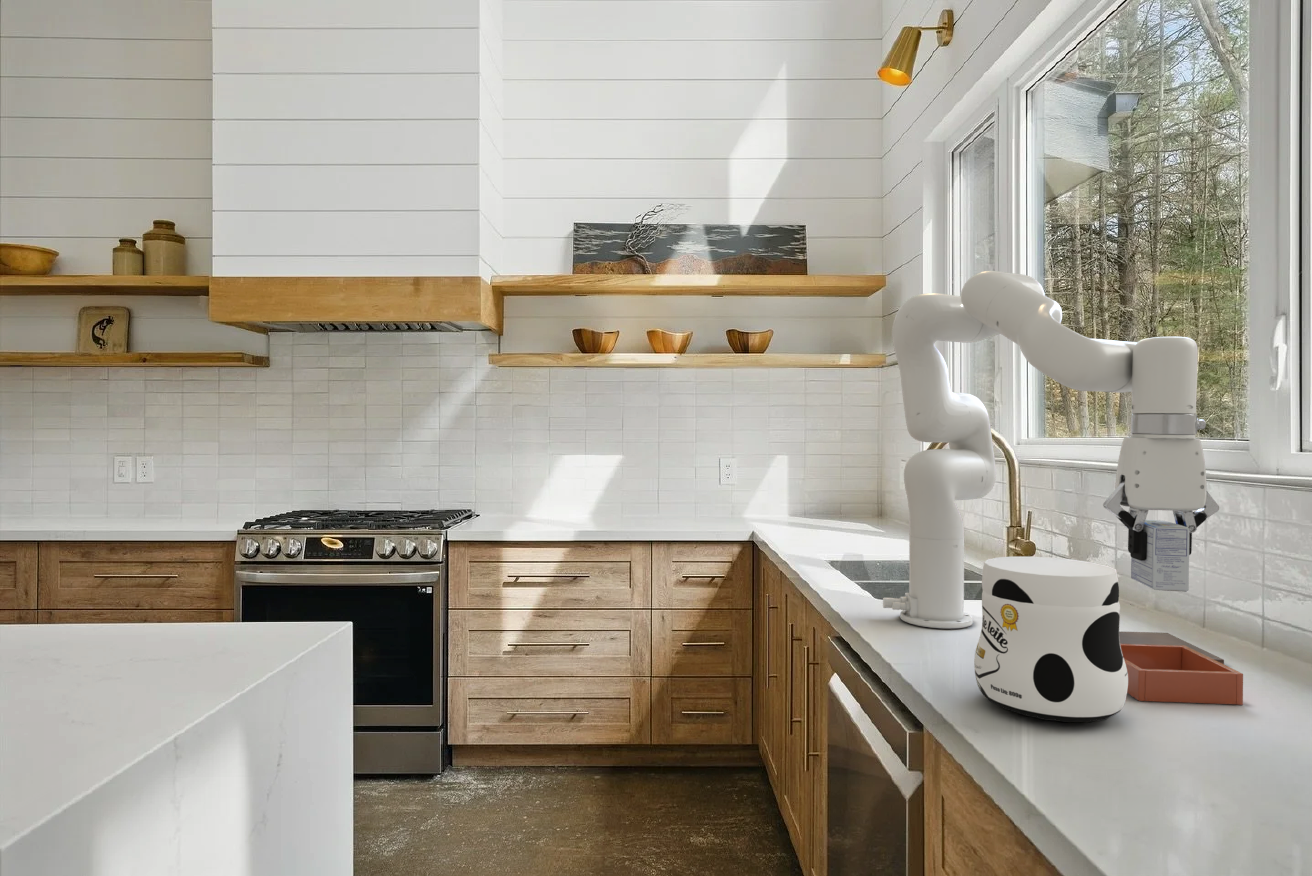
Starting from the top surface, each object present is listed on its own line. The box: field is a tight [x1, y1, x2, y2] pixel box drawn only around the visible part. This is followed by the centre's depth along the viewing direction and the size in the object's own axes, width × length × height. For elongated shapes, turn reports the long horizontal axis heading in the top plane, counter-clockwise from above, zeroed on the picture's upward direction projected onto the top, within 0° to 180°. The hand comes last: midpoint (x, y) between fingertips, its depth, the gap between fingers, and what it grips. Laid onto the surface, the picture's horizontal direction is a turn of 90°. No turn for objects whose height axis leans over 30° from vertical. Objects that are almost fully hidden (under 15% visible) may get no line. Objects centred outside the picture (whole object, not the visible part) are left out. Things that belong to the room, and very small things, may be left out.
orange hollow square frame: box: [1120, 644, 1244, 706], centre depth 109 cm, size 13×14×4 cm
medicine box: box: [1130, 519, 1190, 593], centre depth 109 cm, size 8×4×9 cm, turn 168°
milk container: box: [973, 555, 1128, 723], centre depth 100 cm, size 17×17×18 cm
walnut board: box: [1119, 630, 1225, 665], centre depth 127 cm, size 22×16×1 cm
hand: (1159, 558), depth 110 cm, fingers closed on medicine box, 4 cm apart
